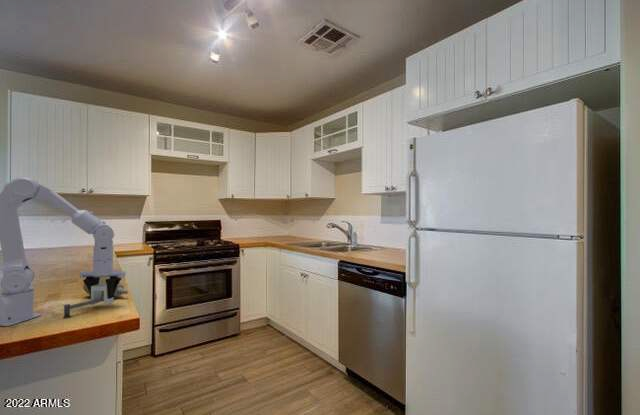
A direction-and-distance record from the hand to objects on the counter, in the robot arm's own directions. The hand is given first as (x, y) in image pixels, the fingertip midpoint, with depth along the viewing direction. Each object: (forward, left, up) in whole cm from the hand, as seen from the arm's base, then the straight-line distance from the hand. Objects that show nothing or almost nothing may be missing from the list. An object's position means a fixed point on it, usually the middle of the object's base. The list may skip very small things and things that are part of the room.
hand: (102, 297), depth 107 cm
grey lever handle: (-2, +1, -3) cm, 4 cm away
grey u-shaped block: (0, 0, -2) cm, 2 cm away
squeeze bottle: (+11, +17, +1) cm, 21 cm away
